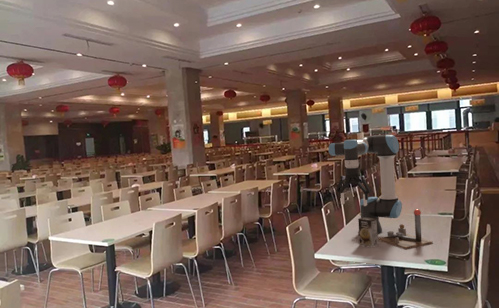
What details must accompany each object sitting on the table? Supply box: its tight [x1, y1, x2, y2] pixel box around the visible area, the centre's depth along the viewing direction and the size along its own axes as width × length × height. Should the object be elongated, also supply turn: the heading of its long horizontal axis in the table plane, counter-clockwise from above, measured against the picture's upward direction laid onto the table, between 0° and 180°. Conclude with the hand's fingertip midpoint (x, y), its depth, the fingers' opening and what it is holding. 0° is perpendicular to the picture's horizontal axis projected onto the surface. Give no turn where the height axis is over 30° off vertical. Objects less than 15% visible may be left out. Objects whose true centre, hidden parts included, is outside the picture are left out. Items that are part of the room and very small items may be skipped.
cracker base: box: [377, 223, 433, 250], centre depth 251 cm, size 20×24×8 cm
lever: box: [387, 208, 423, 242], centre depth 251 cm, size 21×4×19 cm, turn 42°
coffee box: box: [357, 217, 379, 248], centre depth 249 cm, size 9×6×16 cm
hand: (354, 204), depth 232 cm, fingers open, 13 cm apart
